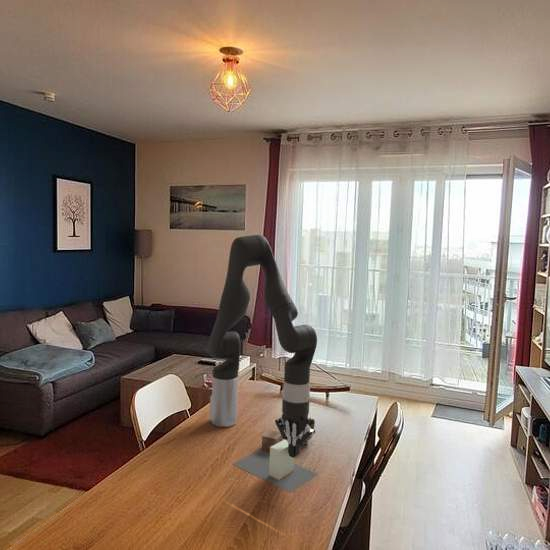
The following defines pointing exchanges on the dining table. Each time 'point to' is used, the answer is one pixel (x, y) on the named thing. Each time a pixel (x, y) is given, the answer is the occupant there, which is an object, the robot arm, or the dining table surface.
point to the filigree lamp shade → (311, 424)
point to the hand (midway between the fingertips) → (293, 456)
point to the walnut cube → (270, 439)
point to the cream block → (280, 460)
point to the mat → (260, 468)
